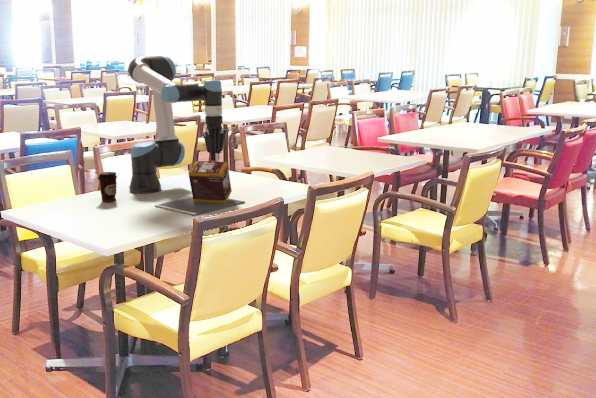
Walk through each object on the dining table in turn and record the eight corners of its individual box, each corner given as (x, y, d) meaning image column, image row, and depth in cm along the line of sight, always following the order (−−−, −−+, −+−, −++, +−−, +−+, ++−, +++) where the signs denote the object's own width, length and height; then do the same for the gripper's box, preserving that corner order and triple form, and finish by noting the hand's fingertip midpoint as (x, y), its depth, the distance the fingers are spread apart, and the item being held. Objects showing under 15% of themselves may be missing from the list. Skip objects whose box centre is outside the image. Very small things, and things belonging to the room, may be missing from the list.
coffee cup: (123, 200, 297) (121, 172, 294) (110, 203, 290) (108, 175, 287) (108, 198, 301) (106, 170, 298) (95, 202, 293) (93, 173, 290)
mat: (154, 206, 284) (154, 205, 284) (205, 195, 307) (205, 193, 307) (194, 215, 268) (194, 214, 268) (244, 202, 291) (244, 201, 291)
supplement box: (226, 203, 287) (221, 173, 279) (193, 202, 290) (187, 172, 282) (232, 191, 296) (227, 161, 287) (200, 189, 299) (195, 160, 290)
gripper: (209, 116, 279) (210, 170, 284) (230, 114, 289) (231, 166, 294) (197, 115, 284) (199, 168, 289) (218, 113, 294) (220, 164, 299)
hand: (215, 167), depth 292 cm, fingers closed
